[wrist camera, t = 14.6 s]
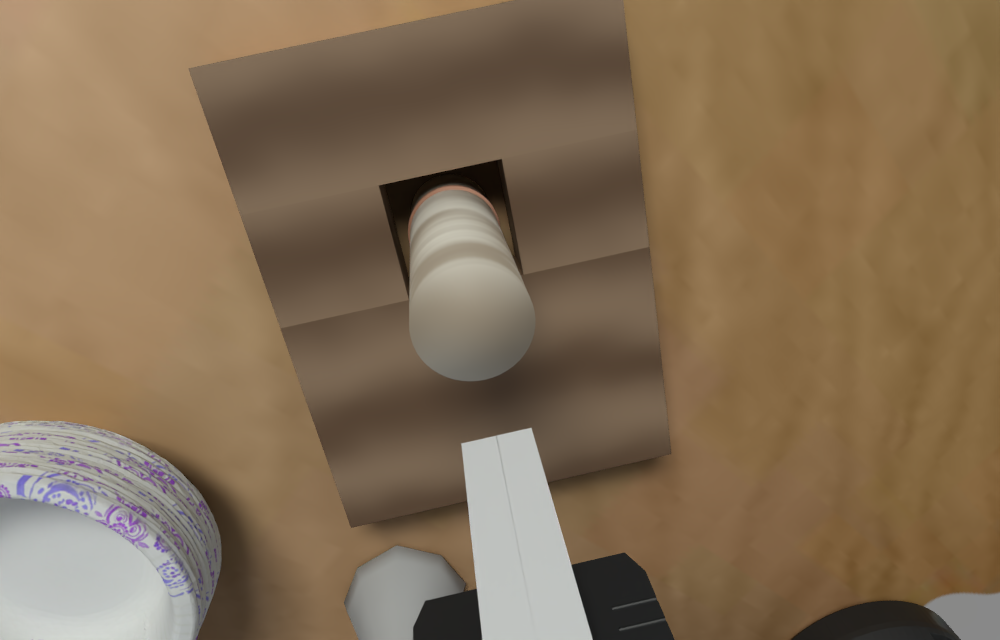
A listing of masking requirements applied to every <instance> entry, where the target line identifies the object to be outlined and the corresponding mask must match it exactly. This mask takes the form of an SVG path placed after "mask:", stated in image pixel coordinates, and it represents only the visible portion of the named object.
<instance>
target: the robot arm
mask: <svg viewBox="0 0 1000 640" xmlns="http://www.w3.org/2000/svg"><path fill="white" fill-rule="evenodd" d="M461 445H462V454H463V464H464V473H465V482H466V492H467V501H468V510H469V519H470V529H471V538H472V547H473V557H474V566H475V575H476V585H477V589H474V590H470V591H465V592H461V593H457V594H452V595H448V596H444V597H439V598H435V599H431V600H426V601H425V602H424V604H423V607H422V609H421V611H420V613H419V615H418V618H417V620H416V622H415V624H414V626H413V640H674V638H673V635H672V633H671V630H670V628H669V626H668V623H667V622H666V620H665V616H664V614H663V612H662V609H661V607H660V605H659V602H658V601H657V599H656V595H655V593H654V590H653V588H652V586H651V583H650V581H649V579H648V576H647V574H646V572H645V570H643V569H642V568H641V567H640V566H639V565H638V564H637V563H636V562H635V561H633V560H632V559H631V558H630V557H629V556H628V555H627V554H626V553H621V554H616V555H612V556H608V557H603V558H599V559H595V560H590V561H586V562H582V563H578V564H573V565H571V563H570V559H569V556H568V552H567V549H566V546H565V542H564V539H563V535H562V532H561V528H560V525H559V521H558V518H557V514H556V511H555V508H554V504H553V501H552V497H551V494H550V490H549V487H548V483H547V480H546V476H545V473H544V470H543V466H542V463H541V459H540V456H539V452H538V449H537V445H536V442H535V439H534V435H533V432H532V428H528V429H523V430H519V431H515V432H510V433H506V434H501V435H497V436H493V437H488V438H484V439H479V440H475V441H470V442H466V443H462V444H461ZM792 640H961V639H959V637H958V636H957V635H956V634H955V633H954V631H953V630H952V629H951V628H950V627H949V626H948V625H947V624H946V622H945V621H944V620H943V619H942V618H941V617H940V616H939V615H937V614H936V613H935V612H933V611H931V610H929V609H928V608H926V607H923V606H920V605H917V604H914V603H909V602H903V601H877V602H870V603H865V604H860V605H856V606H852V607H849V608H846V609H843V610H841V611H838V612H835V613H833V614H831V615H829V616H827V617H825V618H823V619H821V620H819V621H817V622H816V623H814V624H812V625H811V626H809V627H808V628H806V629H805V630H803V631H802V632H801V633H799V634H798V635H797V636H796V637H795V638H793V639H792Z"/></svg>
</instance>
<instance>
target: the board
mask: <svg viewBox="0 0 1000 640" xmlns="http://www.w3.org/2000/svg"><path fill="white" fill-rule="evenodd" d="M189 71H190V74H191V77H192V80H193V83H194V86H195V88H196V91H197V94H198V97H199V100H200V103H201V105H202V108H203V111H204V114H205V117H206V119H207V122H208V125H209V128H210V131H211V134H212V136H213V139H214V142H215V145H216V148H217V150H218V153H219V156H220V159H221V162H222V165H223V167H224V170H225V173H226V176H227V179H228V182H229V184H230V187H231V190H232V193H233V196H234V198H235V201H236V204H237V207H238V210H239V213H240V215H241V218H242V221H243V224H244V227H245V230H246V232H247V235H248V238H249V241H250V244H251V246H252V249H253V252H254V255H255V258H256V261H257V263H258V266H259V269H260V272H261V275H262V277H263V280H264V283H265V286H266V289H267V292H268V294H269V297H270V300H271V303H272V306H273V309H274V311H275V314H276V317H277V320H278V323H279V325H280V328H281V331H282V334H283V337H284V340H285V342H286V345H287V348H288V351H289V354H290V356H291V359H292V362H293V365H294V368H295V371H296V373H297V376H298V379H299V382H300V385H301V388H302V390H303V393H304V396H305V399H306V402H307V404H308V407H309V410H310V413H311V416H312V419H313V421H314V424H315V427H316V430H317V433H318V436H319V438H320V441H321V444H322V447H323V450H324V452H325V455H326V458H327V461H328V464H329V467H330V469H331V472H332V475H333V478H334V481H335V483H336V486H337V489H338V492H339V495H340V498H341V500H342V503H343V506H344V509H345V512H346V515H347V517H348V520H349V523H350V526H351V528H352V527H357V526H361V525H365V524H370V523H374V522H378V521H383V520H387V519H391V518H396V517H400V516H404V515H409V514H413V513H418V512H422V511H426V510H431V509H435V508H439V507H444V506H448V505H452V504H457V503H461V502H465V501H467V492H466V482H465V473H464V464H463V454H462V445H461V444H462V443H466V442H470V441H475V440H479V439H484V438H488V437H493V436H497V435H501V434H506V433H510V432H515V431H519V430H523V429H528V428H532V432H533V435H534V439H535V442H536V445H537V449H538V452H539V456H540V459H541V463H542V466H543V470H544V473H545V476H546V480H547V483H548V482H552V481H556V480H561V479H565V478H569V477H574V476H578V475H582V474H587V473H591V472H595V471H600V470H604V469H608V468H613V467H617V466H621V465H626V464H630V463H634V462H639V461H643V460H648V459H652V458H656V457H661V456H665V455H669V454H671V446H670V437H669V427H668V418H667V409H666V399H665V390H664V380H663V371H662V361H661V352H660V343H659V333H658V324H657V314H656V305H655V296H654V286H653V277H652V267H651V258H650V249H649V239H648V230H647V220H646V211H645V201H644V192H643V183H642V173H641V164H640V154H639V145H638V136H637V126H636V117H635V107H634V98H633V89H632V79H631V70H630V60H629V51H628V41H627V32H626V23H625V13H624V4H623V0H514V1H510V2H505V3H500V4H495V5H490V6H486V7H481V8H476V9H471V10H467V11H462V12H457V13H452V14H447V15H443V16H438V17H433V18H428V19H423V20H419V21H414V22H409V23H404V24H399V25H395V26H390V27H385V28H380V29H376V30H371V31H366V32H361V33H356V34H352V35H347V36H342V37H337V38H332V39H328V40H323V41H318V42H313V43H309V44H304V45H299V46H294V47H289V48H285V49H280V50H275V51H270V52H265V53H261V54H256V55H251V56H246V57H241V58H237V59H232V60H227V61H222V62H218V63H213V64H208V65H203V66H198V67H194V68H189ZM494 160H497V163H498V168H499V173H500V179H501V184H502V189H503V194H504V200H505V205H506V210H507V215H508V220H509V226H510V231H511V236H512V241H513V247H514V252H515V256H512V257H513V259H514V261H515V264H516V266H517V268H518V271H519V273H520V275H521V278H522V280H523V282H524V285H525V287H526V289H527V292H528V294H529V296H530V299H531V301H532V303H533V307H534V311H535V318H536V321H535V331H534V336H533V339H532V342H531V344H530V346H529V348H528V350H527V351H526V353H525V354H524V356H523V357H522V358H521V359H520V360H519V361H518V362H517V363H516V364H515V365H514V366H513V367H512V368H510V369H509V370H507V371H506V372H504V373H502V374H500V375H498V376H495V377H493V378H490V379H486V380H481V381H460V380H454V379H451V378H448V377H445V376H443V375H441V374H439V373H437V372H436V371H434V370H432V369H431V368H430V367H429V366H427V365H426V364H425V363H424V362H423V360H422V359H421V358H420V357H419V355H418V354H417V352H416V350H415V348H414V346H413V344H412V341H411V337H410V332H409V291H410V279H409V276H408V272H407V268H406V265H405V261H404V257H403V253H402V249H401V245H400V242H399V238H398V234H397V230H396V226H395V223H394V219H393V215H392V211H391V207H390V203H389V200H388V196H387V192H386V188H385V184H388V183H392V182H397V181H402V180H406V179H411V178H415V177H420V176H425V175H429V174H434V173H439V172H443V171H448V170H453V169H457V168H462V167H466V166H471V165H476V164H480V163H485V162H490V161H494Z"/></svg>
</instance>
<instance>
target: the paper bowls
mask: <svg viewBox="0 0 1000 640" xmlns="http://www.w3.org/2000/svg"><path fill="white" fill-rule="evenodd" d="M221 561H222V559H221V538H220V534H219V530H218V526H217V524H216V522H215V520H214V516H213V515H212V513H211V511H210V509H209V507H208V505H207V503H206V501H205V500H204V498H203V497H202V495H201V493H200V492H199V491H198V490H197V488H196V487H195V486H194V485H193V484H192V483H191V482H190V481H188V480H187V478H186V477H185V476H184V475H183V474H182V473H181V472H180V471H179V470H178V469H177V468H176V467H174V466H173V465H172V464H171V463H169V462H168V461H167V460H166V459H164V458H162V457H160V456H159V455H157V454H156V453H154V452H152V451H151V450H149V449H148V448H146V447H145V446H143V445H140V444H138V443H136V442H134V441H132V440H130V439H129V438H126V437H124V436H121V435H119V434H117V433H114V432H110V431H107V430H103V429H99V428H96V427H92V426H87V425H82V424H77V423H70V422H64V421H14V422H8V423H3V424H0V640H197V637H198V633H199V630H200V628H201V626H202V623H203V621H204V619H205V616H206V614H207V611H208V608H209V605H210V603H211V600H212V597H213V595H214V591H215V588H216V585H217V581H218V577H219V574H220V569H221Z"/></svg>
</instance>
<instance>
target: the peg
mask: <svg viewBox="0 0 1000 640" xmlns="http://www.w3.org/2000/svg"><path fill="white" fill-rule="evenodd" d="M408 239H409V244H410V291H409V332H410V337H411V341H412V344H413V346H414V348H415V350H416V352H417V354H418V355H419V357H420V358H421V359H422V360H423V362H424V363H425V364H426V365H427V366H429V367H430V368H431V369H432V370H434V371H436V372H437V373H439V374H441V375H443V376H445V377H448V378H451V379H454V380H460V381H481V380H486V379H490V378H493V377H495V376H498V375H500V374H502V373H504V372H506V371H507V370H509V369H510V368H512V367H513V366H514V365H515V364H516V363H517V362H518V361H519V360H520V359H521V358H522V357H523V356H524V354H525V353H526V351H527V350H528V348H529V346H530V344H531V342H532V339H533V336H534V331H535V321H536V318H535V311H534V307H533V303H532V301H531V299H530V296H529V294H528V292H527V289H526V287H525V285H524V282H523V280H522V278H521V275H520V273H519V271H518V268H517V266H516V264H515V261H514V259H513V257H512V254H511V252H510V250H509V247H508V245H507V242H506V240H505V238H504V235H503V233H502V231H501V228H500V222H499V219H498V216H497V213H496V211H495V209H494V207H493V206H492V204H491V203H490V202H489V200H488V198H487V196H486V194H485V192H484V191H483V189H482V188H481V187H480V186H479V185H478V184H477V183H476V182H474V181H473V180H471V179H469V178H468V177H465V176H462V175H458V174H443V175H439V176H436V177H434V178H432V179H430V180H428V181H427V182H426V183H424V184H423V185H422V186H421V187H420V188H419V190H418V191H417V192H416V194H415V196H414V198H413V201H412V204H411V212H410V219H409V223H408Z"/></svg>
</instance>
